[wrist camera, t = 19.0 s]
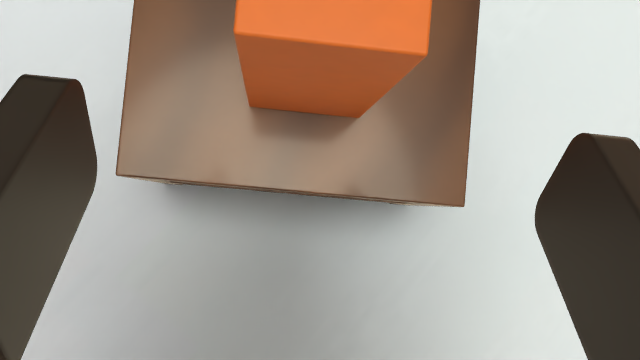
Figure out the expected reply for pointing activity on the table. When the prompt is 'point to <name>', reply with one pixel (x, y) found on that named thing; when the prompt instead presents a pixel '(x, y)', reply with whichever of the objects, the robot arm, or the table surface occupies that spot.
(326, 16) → the box
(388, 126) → the shelf
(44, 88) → the robot arm
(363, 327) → the table surface
